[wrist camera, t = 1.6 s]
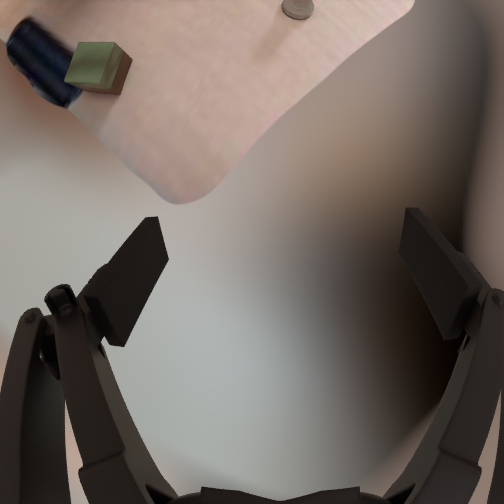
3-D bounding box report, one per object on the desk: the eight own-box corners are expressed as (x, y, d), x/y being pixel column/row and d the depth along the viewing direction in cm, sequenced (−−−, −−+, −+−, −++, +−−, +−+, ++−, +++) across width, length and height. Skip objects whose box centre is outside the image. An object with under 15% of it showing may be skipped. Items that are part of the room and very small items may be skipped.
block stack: (100, 57, 29) (78, 42, 23) (132, 59, 30) (115, 42, 24) (87, 91, 31) (63, 81, 24) (120, 95, 32) (99, 83, 25)
